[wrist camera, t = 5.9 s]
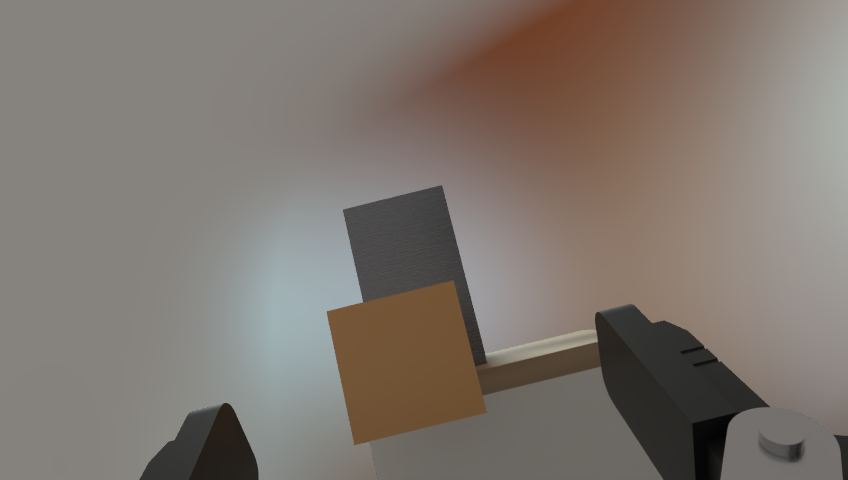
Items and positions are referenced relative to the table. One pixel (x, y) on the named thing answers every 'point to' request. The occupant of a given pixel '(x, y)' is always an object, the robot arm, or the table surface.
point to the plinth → (527, 424)
